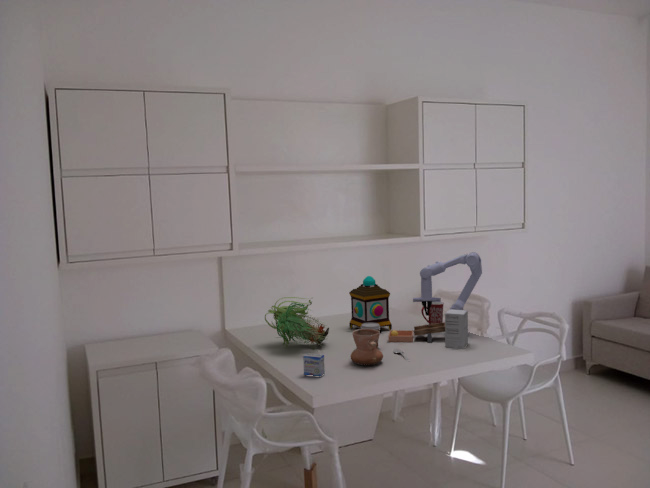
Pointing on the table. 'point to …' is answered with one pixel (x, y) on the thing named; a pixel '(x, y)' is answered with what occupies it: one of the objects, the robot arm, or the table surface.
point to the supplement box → (456, 328)
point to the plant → (296, 323)
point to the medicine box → (313, 364)
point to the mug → (435, 313)
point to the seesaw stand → (429, 337)
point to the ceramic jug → (366, 347)
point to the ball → (394, 333)
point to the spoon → (401, 353)
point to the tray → (401, 336)
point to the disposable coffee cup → (371, 327)
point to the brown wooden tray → (429, 329)
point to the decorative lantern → (370, 304)
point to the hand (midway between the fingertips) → (427, 315)
